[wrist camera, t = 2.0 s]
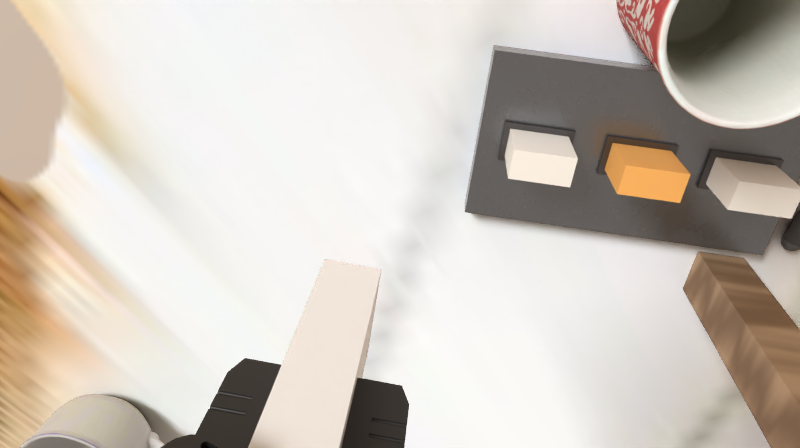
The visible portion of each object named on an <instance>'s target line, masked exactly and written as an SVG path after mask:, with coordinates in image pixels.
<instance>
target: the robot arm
mask: <svg viewBox="0 0 800 448" xmlns="http://www.w3.org/2000/svg"><path fill="white" fill-rule="evenodd" d="M380 274H381V269H376V268H370V267H365V266H360V265H354V264H349V263H343V262H338V261H332V260H327V259H325V260H324V262H323V264H322V267H321V269H320V272H319V274H318V277H317V279H316V282H315V284H314V287H313V289H312V292H311V294H310V296H309V299H308V301H307V304H306V306H305V309H304V311H303V314H302V316H301V319H300V321H299V324H298V326H297V328H296V331H295V333H294V336H293V338H292V341H291V343H290V346H289V348H288V351H287V353H286V356H285V358H284V360H283V363H282V365H279V364H274V363H268V362H263V361H258V360H252V359H247V358H245V359H243V360H242V361H241V362H240V363H239V364H237V365H236V366H235V367H234V368H232V369H231V370H230V371H229V372H228V373H227V375H226V377H225V378H224V380H223V382H222V384H221V386H220V388H219V390H218V394H216V396H215V398H214V400H213V402H212V404H211V406H210V409H208V411H207V413H206V415H205V417H204V419H203V421H202V423H201V425H200V427H199V429H198V431H197V433H196V435H187V436H183V437H180V438H176V439H174V440H172V441H170V442H169V443H167V444H165V445H164V446H162V447H161V448H404V443H405V435H406V426H407V418H408V409H409V403H408V401H407V398H406V395H405V393H404V390H403V388H402V386H400V385H395V384H389V383H384V382H379V381H373V380H368V379H362V375H363V371H364V366H365V362H366V357H367V353H368V348H369V341H370V335H371V329H372V323H373V317H374V311H375V305H376V298H377V292H378V286H379V280H380Z"/></svg>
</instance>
